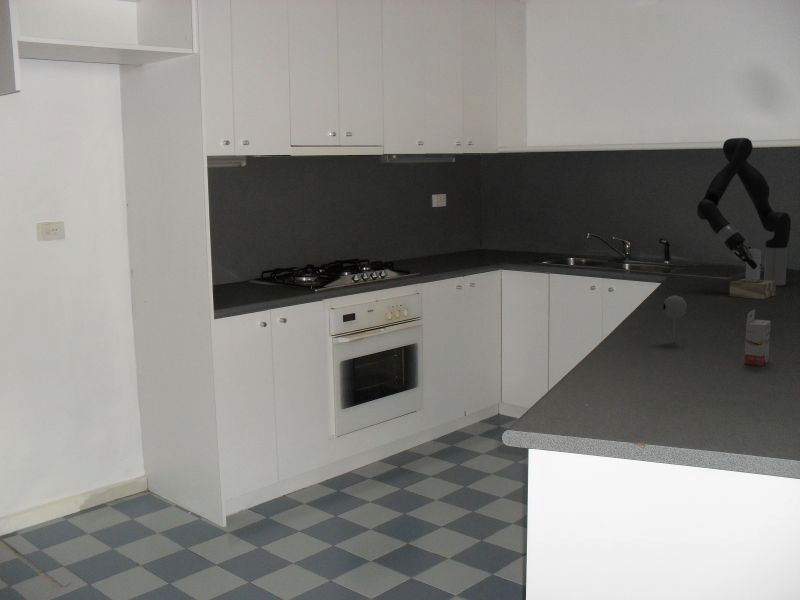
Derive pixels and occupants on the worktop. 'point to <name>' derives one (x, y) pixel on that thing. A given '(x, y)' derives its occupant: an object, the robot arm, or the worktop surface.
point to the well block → (752, 289)
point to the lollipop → (674, 309)
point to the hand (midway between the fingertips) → (757, 267)
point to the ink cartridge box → (757, 340)
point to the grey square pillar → (754, 274)
